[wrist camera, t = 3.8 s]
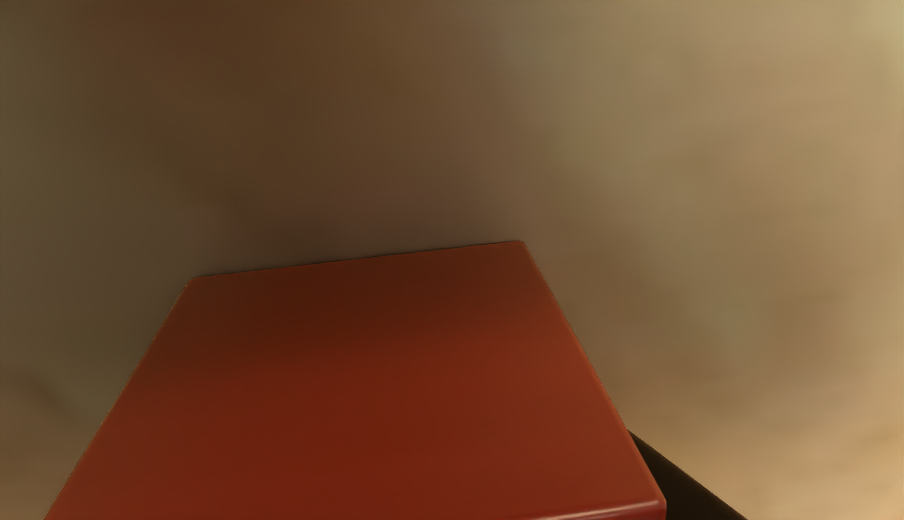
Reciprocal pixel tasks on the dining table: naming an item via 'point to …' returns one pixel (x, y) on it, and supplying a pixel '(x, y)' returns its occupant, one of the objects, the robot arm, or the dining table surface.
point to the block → (365, 402)
